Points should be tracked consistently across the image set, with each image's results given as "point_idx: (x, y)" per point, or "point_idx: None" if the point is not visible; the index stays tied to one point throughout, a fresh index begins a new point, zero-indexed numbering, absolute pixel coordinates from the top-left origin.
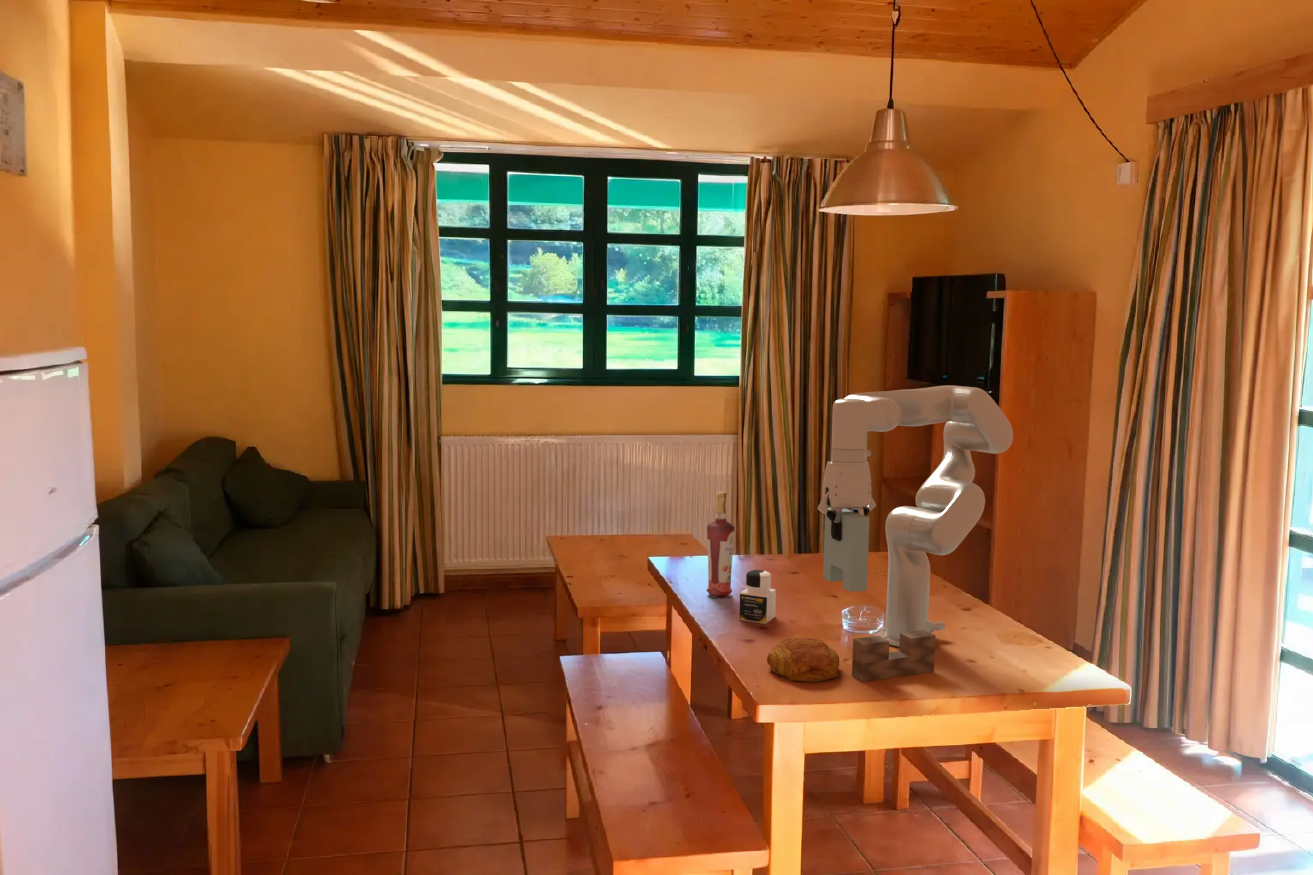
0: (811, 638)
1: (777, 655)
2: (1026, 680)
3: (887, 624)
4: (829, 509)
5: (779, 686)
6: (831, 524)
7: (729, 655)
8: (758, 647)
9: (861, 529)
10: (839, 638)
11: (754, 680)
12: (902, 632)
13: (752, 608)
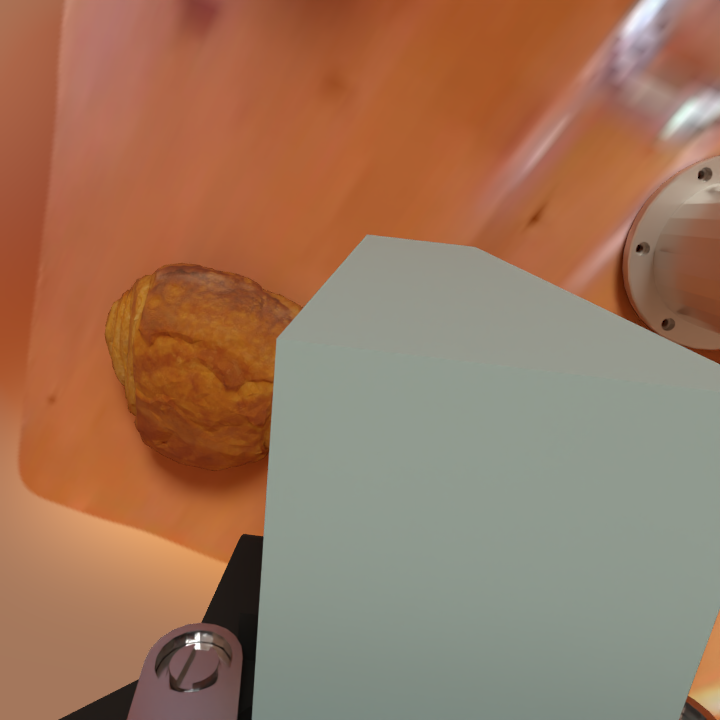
0: (235, 364)
1: (112, 360)
2: (716, 642)
3: (682, 237)
4: (279, 531)
5: (105, 424)
6: (205, 621)
7: (68, 135)
8: (196, 100)
9: None
10: (521, 134)
11: (59, 361)
12: (679, 306)
13: None
